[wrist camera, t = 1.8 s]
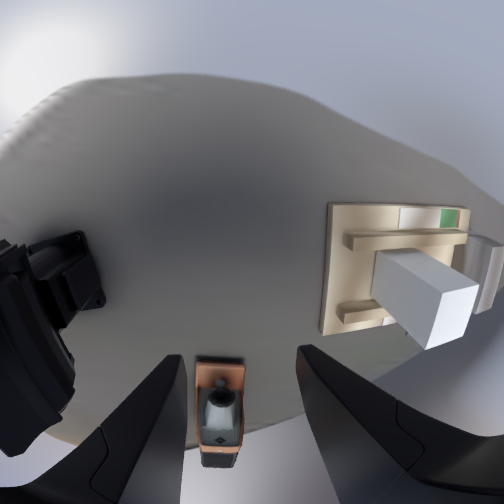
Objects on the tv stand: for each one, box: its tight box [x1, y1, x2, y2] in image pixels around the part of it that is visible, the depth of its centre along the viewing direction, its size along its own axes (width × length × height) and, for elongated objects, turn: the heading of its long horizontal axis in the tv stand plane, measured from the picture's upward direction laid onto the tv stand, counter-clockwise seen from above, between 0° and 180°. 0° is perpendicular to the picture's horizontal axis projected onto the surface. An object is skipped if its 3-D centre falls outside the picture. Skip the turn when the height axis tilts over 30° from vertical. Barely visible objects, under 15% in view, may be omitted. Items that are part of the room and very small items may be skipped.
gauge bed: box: [319, 203, 504, 336], centre depth 20 cm, size 17×11×6 cm, turn 91°
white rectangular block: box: [371, 248, 479, 350], centre depth 18 cm, size 4×8×8 cm, turn 2°
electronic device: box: [195, 360, 246, 468], centre depth 21 cm, size 4×10×8 cm, turn 173°
